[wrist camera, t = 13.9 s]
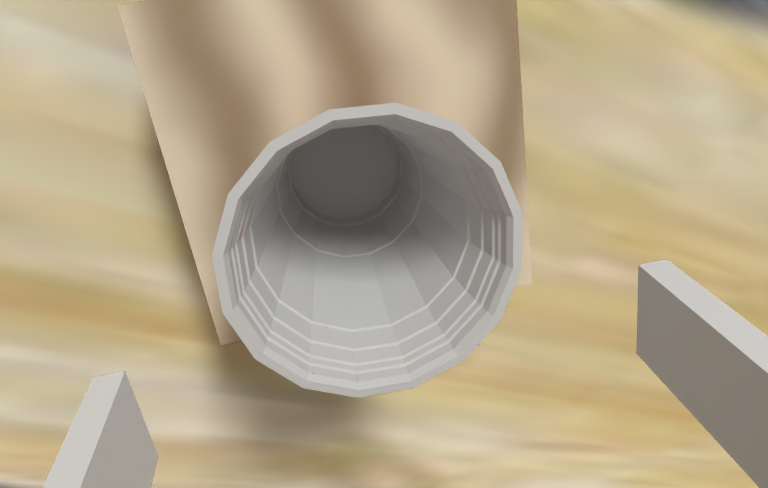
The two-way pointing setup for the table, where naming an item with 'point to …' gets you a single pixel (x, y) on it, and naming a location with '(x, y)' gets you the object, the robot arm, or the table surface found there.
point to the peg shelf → (314, 87)
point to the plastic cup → (368, 250)
